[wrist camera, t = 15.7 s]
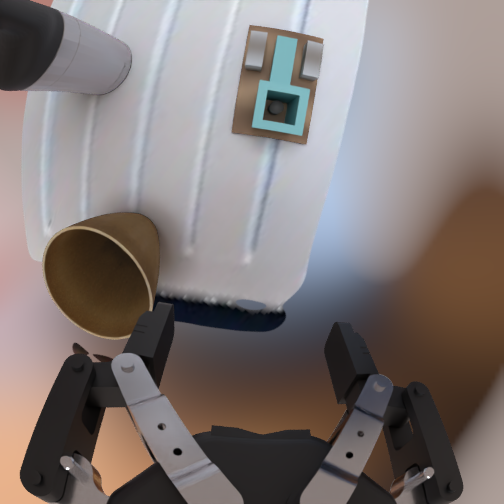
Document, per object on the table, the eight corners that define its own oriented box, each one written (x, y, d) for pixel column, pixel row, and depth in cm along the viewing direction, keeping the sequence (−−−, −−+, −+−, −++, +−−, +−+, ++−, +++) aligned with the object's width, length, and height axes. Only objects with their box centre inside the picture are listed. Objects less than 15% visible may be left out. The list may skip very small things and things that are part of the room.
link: (251, 127, 34) (252, 127, 25) (266, 39, 28) (271, 13, 20) (289, 133, 34) (302, 135, 26) (303, 46, 29) (320, 23, 20)
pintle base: (304, 144, 36) (312, 146, 31) (232, 132, 35) (229, 132, 30) (321, 40, 29) (331, 30, 24) (249, 27, 28) (249, 14, 24)
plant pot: (142, 290, 46) (107, 355, 31) (84, 229, 41) (28, 276, 26) (202, 241, 42) (179, 304, 27) (137, 168, 37) (78, 197, 22)
